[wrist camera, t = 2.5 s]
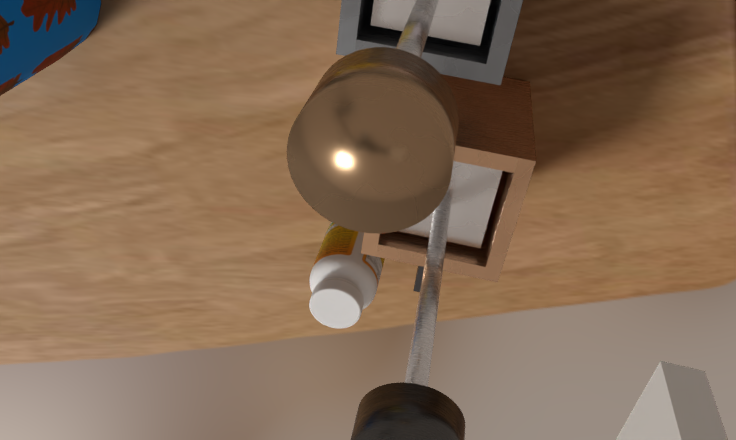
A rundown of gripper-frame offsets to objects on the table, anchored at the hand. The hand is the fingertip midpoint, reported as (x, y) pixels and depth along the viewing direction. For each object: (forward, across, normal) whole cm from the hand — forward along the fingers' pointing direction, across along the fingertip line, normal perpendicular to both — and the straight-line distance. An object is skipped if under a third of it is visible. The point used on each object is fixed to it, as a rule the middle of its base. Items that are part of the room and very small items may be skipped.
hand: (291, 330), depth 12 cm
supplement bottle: (+37, -2, -24) cm, 45 cm away
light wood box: (+37, +3, -14) cm, 40 cm away
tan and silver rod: (+27, 0, 0) cm, 27 cm away
